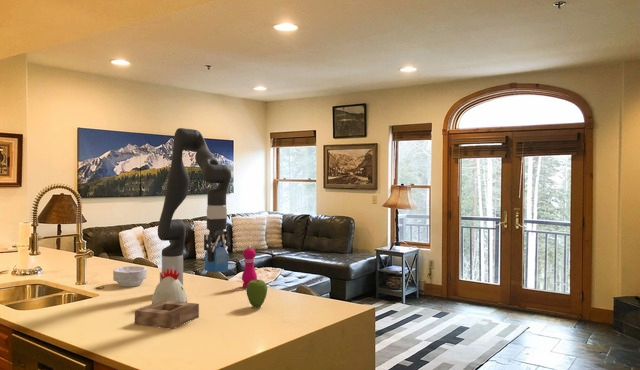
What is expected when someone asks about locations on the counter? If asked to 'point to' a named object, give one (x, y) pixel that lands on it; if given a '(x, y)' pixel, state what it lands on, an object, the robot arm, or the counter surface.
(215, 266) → the perfume bottle
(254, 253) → the pepper mill
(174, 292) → the kitchen timer
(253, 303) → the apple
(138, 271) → the paper bowls
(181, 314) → the holder block
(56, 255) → the counter surface
